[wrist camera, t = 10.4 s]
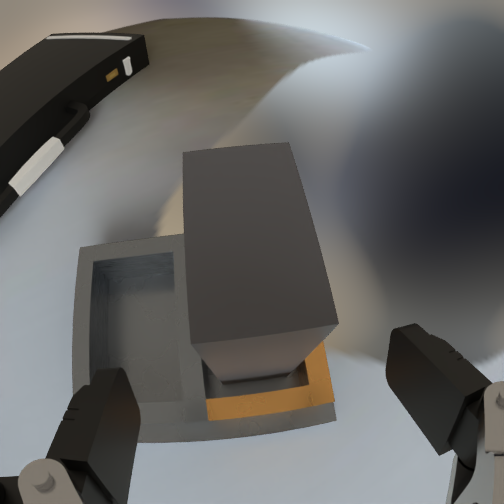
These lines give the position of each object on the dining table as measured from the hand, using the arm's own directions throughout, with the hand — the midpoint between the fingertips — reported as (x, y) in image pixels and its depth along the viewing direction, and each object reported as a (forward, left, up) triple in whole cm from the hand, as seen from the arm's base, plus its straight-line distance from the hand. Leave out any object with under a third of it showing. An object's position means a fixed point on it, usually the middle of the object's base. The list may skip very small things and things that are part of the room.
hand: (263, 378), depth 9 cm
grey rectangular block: (+3, +3, -11) cm, 12 cm away
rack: (+1, +6, -12) cm, 13 cm away
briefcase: (0, +42, -12) cm, 44 cm away
